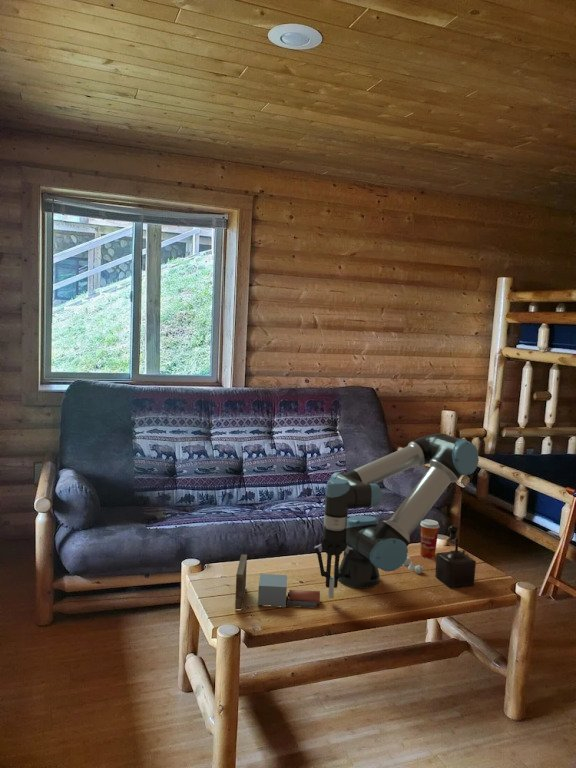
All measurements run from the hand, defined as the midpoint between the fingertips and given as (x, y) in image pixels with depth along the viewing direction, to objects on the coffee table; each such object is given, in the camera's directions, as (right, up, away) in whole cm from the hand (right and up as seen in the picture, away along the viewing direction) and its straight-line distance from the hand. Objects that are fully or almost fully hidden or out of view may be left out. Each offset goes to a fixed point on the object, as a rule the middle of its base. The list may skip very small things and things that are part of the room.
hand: (330, 596), depth 194 cm
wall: (-30, -1, +1) cm, 30 cm away
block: (-19, -2, +1) cm, 19 cm away
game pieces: (+33, -1, +32) cm, 46 cm away
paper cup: (+43, 0, +46) cm, 63 cm away
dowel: (-9, -2, 0) cm, 9 cm away
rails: (-9, -2, 0) cm, 10 cm away
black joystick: (+47, -2, +25) cm, 53 cm away
